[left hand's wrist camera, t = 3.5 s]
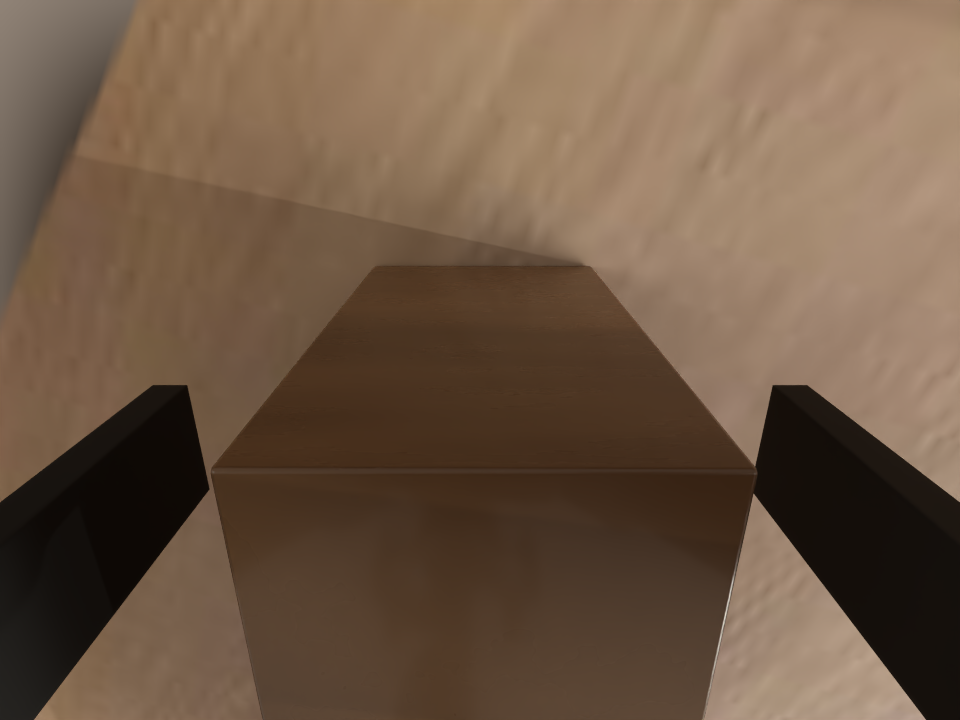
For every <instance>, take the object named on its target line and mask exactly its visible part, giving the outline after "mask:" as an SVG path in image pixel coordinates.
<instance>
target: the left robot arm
mask: <svg viewBox="0 0 960 720" xmlns="http://www.w3.org/2000/svg"><path fill="white" fill-rule="evenodd" d="M755 468H756V469H757V479H756V484H755V488H754V494H755V496H756V497H757V498H758V500H759V501H760V502H761V504H762V505H763V506H764V508H765V509H766V510H767V511H768V513H769V514H770V515H771V517H772V518H773V519H774V521H775V522H776V523H777V525H778V526H779V527H780V529H781V530H782V531H783V532H784V534H785V535H786V536H787V538H788V539H789V540H790V542H791V543H792V544H793V546H794V547H795V548H796V550H797V551H798V552H799V553H800V555H801V556H802V557H803V559H804V560H805V561H806V563H807V564H808V565H809V567H810V568H811V569H812V571H813V572H814V573H815V574H816V576H817V577H818V578H819V580H820V581H821V582H822V584H823V585H824V586H825V588H826V589H827V590H828V592H829V593H830V594H831V595H832V597H833V598H834V599H835V601H836V602H837V603H838V605H839V606H840V607H841V609H842V610H843V611H844V613H845V614H846V615H847V616H848V618H849V619H850V620H851V622H852V623H853V624H854V626H855V627H856V628H857V630H858V631H859V632H860V634H861V635H862V636H863V637H864V639H865V640H866V641H867V643H868V644H869V645H870V647H871V648H872V649H873V651H874V652H875V653H876V655H877V656H878V657H879V658H880V660H881V661H882V662H883V664H884V665H885V666H886V668H887V669H888V670H889V672H890V673H891V674H892V676H893V677H894V678H895V679H896V681H897V682H898V683H899V685H900V686H901V687H902V689H903V690H904V691H905V693H906V694H907V695H908V697H909V698H910V699H911V700H912V702H913V703H914V704H915V706H916V707H917V708H918V710H919V711H920V712H921V714H922V715H923V716H924V718H925V719H926V720H960V502H959V501H957V500H956V499H955V498H953V497H952V496H951V495H949V494H948V493H947V492H946V491H944V490H943V489H942V488H940V487H939V486H938V485H936V484H935V483H934V482H933V481H931V480H930V479H929V478H927V477H926V476H925V475H923V474H922V473H921V472H920V471H918V470H917V469H916V468H914V467H913V466H912V465H910V464H909V463H908V462H906V461H905V460H904V459H903V458H901V457H900V456H899V455H897V454H896V453H895V452H893V451H892V450H891V449H890V448H888V447H887V446H886V445H884V444H883V443H882V442H880V441H879V440H878V439H877V438H875V437H874V436H873V435H871V434H870V433H869V432H867V431H866V430H865V429H864V428H862V427H861V426H860V425H858V424H857V423H856V422H854V421H853V420H852V419H850V418H849V417H848V416H847V415H845V414H844V413H843V412H841V411H840V410H839V409H837V408H836V407H835V406H834V405H832V404H831V403H830V402H828V401H827V400H826V399H824V398H823V397H822V396H821V395H819V394H818V393H817V392H815V391H814V390H813V389H811V388H810V387H809V386H808V385H773V387H772V392H771V396H770V401H769V406H768V410H767V415H766V420H765V424H764V429H763V433H762V438H761V443H760V447H759V452H758V457H757V461H756V466H755ZM208 490H209V485H208V480H207V475H206V471H205V466H204V461H203V457H202V452H201V447H200V443H199V438H198V433H197V429H196V424H195V419H194V415H193V410H192V405H191V401H190V396H189V391H188V387H187V385H153V386H151V387H150V388H149V389H147V390H146V391H145V392H143V393H142V394H141V395H139V396H138V397H137V398H136V399H134V400H133V401H132V402H130V403H129V404H128V405H126V406H125V407H124V408H123V409H121V410H120V411H119V412H117V413H116V414H115V415H113V416H112V417H111V418H110V419H108V420H107V421H106V422H104V423H103V424H102V425H100V426H99V427H98V428H97V429H95V430H94V431H93V432H91V433H90V434H89V435H87V436H86V437H85V438H83V439H82V440H81V441H80V442H78V443H77V444H76V445H74V446H73V447H72V448H70V449H69V450H68V451H67V452H65V453H64V454H63V455H61V456H60V457H59V458H57V459H56V460H55V461H54V462H52V463H51V464H50V465H48V466H47V467H46V468H44V469H43V470H42V471H40V472H39V473H38V474H37V475H35V476H34V477H33V478H31V479H30V480H29V481H27V482H26V483H25V484H24V485H22V486H21V487H20V488H18V489H17V490H16V491H14V492H13V493H12V494H11V495H9V496H8V497H7V498H5V499H4V500H3V501H1V502H0V720H34V719H35V718H36V716H37V715H38V714H39V712H40V711H41V710H42V708H43V707H44V706H45V704H46V703H47V702H48V701H49V699H50V698H51V697H52V695H53V694H54V693H55V691H56V690H57V689H58V687H59V686H60V685H61V683H62V682H63V681H64V680H65V678H66V677H67V676H68V674H69V673H70V672H71V670H72V669H73V668H74V666H75V665H76V664H77V662H78V661H79V660H80V659H81V657H82V656H83V655H84V653H85V652H86V651H87V649H88V648H89V647H90V645H91V644H92V643H93V641H94V640H95V639H96V638H97V636H98V635H99V634H100V632H101V631H102V630H103V628H104V627H105V626H106V624H107V623H108V622H109V620H110V619H111V618H112V617H113V615H114V614H115V613H116V611H117V610H118V609H119V607H120V606H121V605H122V603H123V602H124V601H125V599H126V598H127V597H128V595H129V594H130V593H131V592H132V590H133V589H134V588H135V586H136V585H137V584H138V582H139V581H140V580H141V578H142V577H143V576H144V574H145V573H146V572H147V571H148V569H149V568H150V567H151V565H152V564H153V563H154V561H155V560H156V559H157V557H158V556H159V555H160V553H161V552H162V551H163V550H164V548H165V547H166V546H167V544H168V543H169V542H170V540H171V539H172V538H173V536H174V535H175V534H176V532H177V531H178V530H179V529H180V527H181V526H182V525H183V523H184V522H185V521H186V519H187V518H188V517H189V515H190V514H191V513H192V511H193V510H194V509H195V508H196V506H197V505H198V504H199V502H200V501H201V500H202V498H203V497H204V496H205V494H206V493H207V492H208Z"/></svg>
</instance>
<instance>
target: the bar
mask: <svg viewBox="0 0 960 720" xmlns="http://www.w3.org/2000/svg"><path fill="white" fill-rule="evenodd" d="M211 477H212V482H213V487H214V491H215V496H216V501H217V505H218V510H219V515H220V520H221V524H222V529H223V534H224V539H225V543H226V548H227V553H228V557H229V562H230V567H231V572H232V576H233V581H234V586H235V591H236V595H237V600H238V605H239V609H240V614H241V619H242V624H243V628H244V633H245V638H246V642H247V647H248V652H249V657H250V661H251V666H252V671H253V676H254V680H255V685H256V690H257V694H258V699H259V704H260V709H261V713H262V718H263V720H704V717H705V713H706V708H707V704H708V699H709V695H710V690H711V685H712V681H713V676H714V672H715V667H716V662H717V658H718V653H719V649H720V644H721V639H722V635H723V630H724V626H725V621H726V617H727V612H728V607H729V603H730V598H731V594H732V589H733V584H734V580H735V575H736V571H737V566H738V562H739V557H740V552H741V548H742V543H743V539H744V534H745V529H746V525H747V520H748V516H749V511H750V507H751V502H752V497H753V493H754V488H755V484H756V479H757V469H756V468H755V466H754V465H753V464H752V463H751V461H750V460H749V459H748V458H747V457H746V455H745V454H744V453H743V452H742V450H741V449H740V448H739V447H738V446H737V444H736V443H735V442H734V441H733V440H732V438H731V437H730V436H729V435H728V433H727V432H726V431H725V430H724V429H723V427H722V426H721V425H720V424H719V422H718V421H717V420H716V419H715V418H714V416H713V415H712V414H711V413H710V411H709V410H708V409H707V408H706V407H705V405H704V404H703V403H702V402H701V401H700V399H699V398H698V397H697V396H696V394H695V393H694V392H693V391H692V390H691V388H690V387H689V386H688V385H687V383H686V382H685V381H684V380H683V379H682V377H681V376H680V375H679V374H678V372H677V371H676V370H675V369H674V368H673V366H672V365H671V364H670V363H669V361H668V360H667V359H666V358H665V357H664V355H663V354H662V353H661V352H660V351H659V349H658V348H657V347H656V346H655V344H654V343H653V342H652V341H651V340H650V338H649V337H648V336H647V335H646V333H645V332H644V331H643V330H642V329H641V327H640V326H639V325H638V324H637V322H636V321H635V320H634V319H633V318H632V316H631V315H630V314H629V313H628V312H627V310H626V309H625V308H624V307H623V305H622V304H621V303H620V302H619V301H618V299H617V298H616V297H615V296H614V294H613V293H612V292H611V291H610V290H609V288H608V287H607V286H606V285H605V283H604V282H603V281H602V280H601V279H600V277H599V276H598V275H597V274H596V272H595V271H594V270H593V269H592V268H591V267H590V266H375V267H374V268H373V269H372V270H371V272H370V273H369V274H368V275H367V276H366V278H365V279H364V280H363V281H362V283H361V284H360V285H359V286H358V288H357V289H356V290H355V291H354V293H353V294H352V295H351V296H350V298H349V299H348V300H347V301H346V302H345V304H344V305H343V306H342V307H341V309H340V310H339V311H338V312H337V314H336V315H335V316H334V317H333V319H332V320H331V321H330V322H329V323H328V325H327V326H326V327H325V328H324V330H323V331H322V332H321V333H320V335H319V336H318V337H317V338H316V340H315V341H314V342H313V343H312V345H311V346H310V347H309V348H308V349H307V351H306V352H305V353H304V354H303V356H302V357H301V358H300V359H299V361H298V362H297V363H296V364H295V366H294V367H293V368H292V369H291V370H290V372H289V373H288V374H287V375H286V377H285V378H284V379H283V380H282V382H281V383H280V384H279V385H278V387H277V388H276V389H275V390H274V392H273V393H272V394H271V395H270V396H269V398H268V399H267V400H266V401H265V403H264V404H263V405H262V406H261V408H260V409H259V410H258V411H257V413H256V414H255V415H254V416H253V417H252V419H251V420H250V421H249V422H248V424H247V425H246V426H245V427H244V429H243V430H242V431H241V432H240V434H239V435H238V436H237V437H236V439H235V440H234V441H233V442H232V443H231V445H230V446H229V447H228V448H227V450H226V451H225V452H224V453H223V455H222V456H221V457H220V458H219V460H218V461H217V462H216V463H215V465H214V466H213V467H212V469H211Z"/></svg>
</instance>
